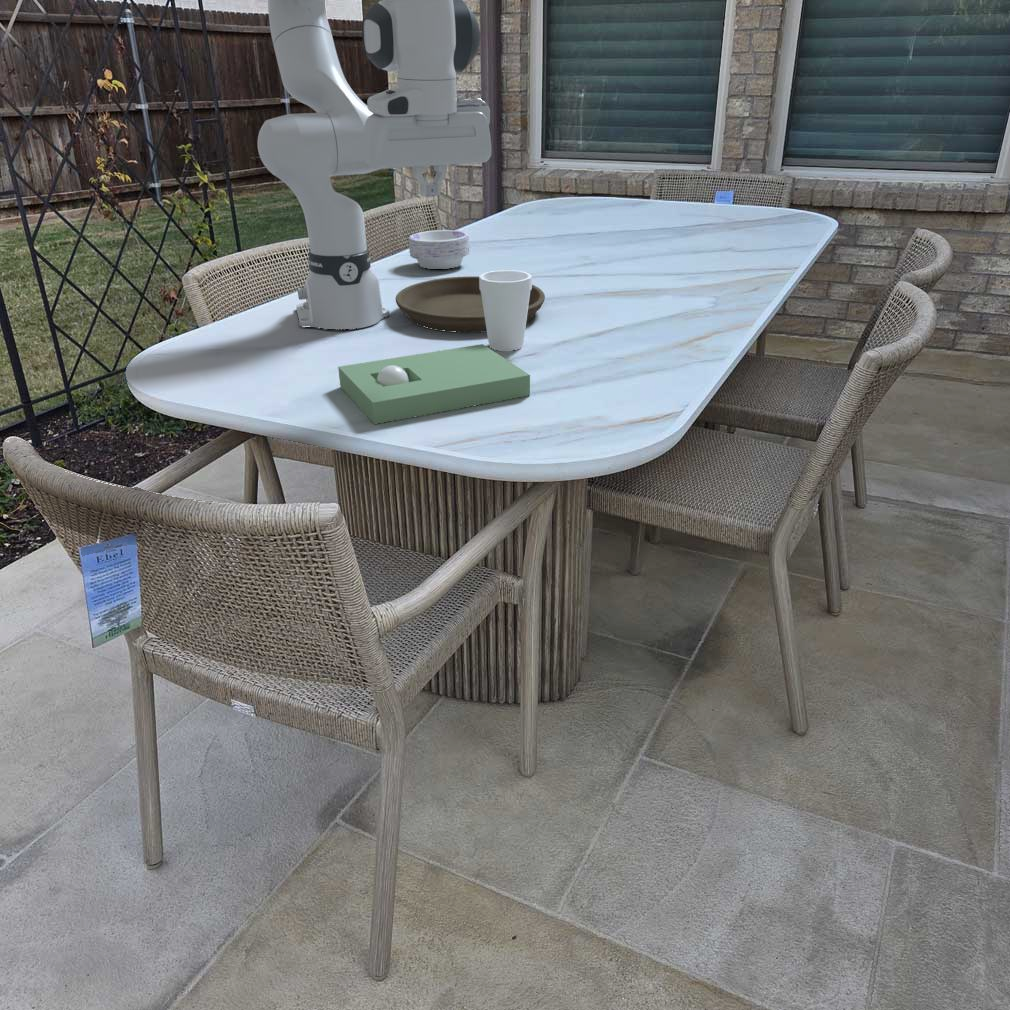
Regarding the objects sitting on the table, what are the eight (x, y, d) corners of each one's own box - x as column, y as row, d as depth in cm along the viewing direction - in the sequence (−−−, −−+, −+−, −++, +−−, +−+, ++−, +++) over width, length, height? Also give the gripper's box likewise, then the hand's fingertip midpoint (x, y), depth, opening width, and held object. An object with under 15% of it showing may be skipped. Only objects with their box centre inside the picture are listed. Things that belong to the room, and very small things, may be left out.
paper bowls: (402, 263, 222) (400, 232, 218) (456, 257, 227) (455, 227, 224) (422, 276, 210) (420, 242, 206) (479, 269, 215) (478, 237, 211)
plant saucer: (530, 341, 163) (530, 317, 161) (376, 333, 169) (374, 310, 167) (555, 299, 190) (555, 278, 188) (421, 293, 196) (420, 273, 194)
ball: (392, 357, 136) (405, 383, 139) (366, 373, 135) (380, 399, 137) (405, 362, 132) (419, 389, 135) (378, 379, 131) (393, 406, 133)
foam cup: (530, 338, 164) (530, 269, 158) (532, 353, 156) (533, 281, 150) (480, 339, 164) (479, 270, 158) (480, 354, 156) (479, 282, 150)
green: (340, 386, 141) (338, 366, 140) (482, 363, 151) (482, 344, 150) (374, 424, 127) (372, 402, 125) (529, 395, 137) (530, 374, 135)
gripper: (481, 95, 135) (481, 187, 142) (356, 99, 128) (363, 196, 135) (498, 99, 131) (497, 194, 138) (370, 103, 123) (376, 203, 130)
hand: (430, 195), depth 136 cm, fingers closed
